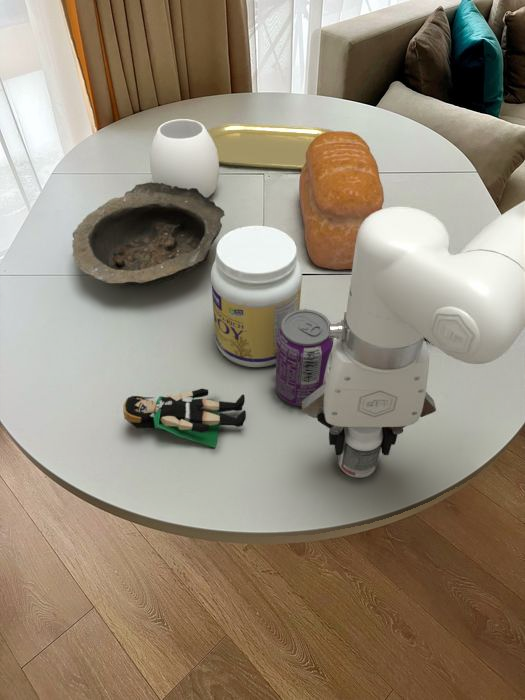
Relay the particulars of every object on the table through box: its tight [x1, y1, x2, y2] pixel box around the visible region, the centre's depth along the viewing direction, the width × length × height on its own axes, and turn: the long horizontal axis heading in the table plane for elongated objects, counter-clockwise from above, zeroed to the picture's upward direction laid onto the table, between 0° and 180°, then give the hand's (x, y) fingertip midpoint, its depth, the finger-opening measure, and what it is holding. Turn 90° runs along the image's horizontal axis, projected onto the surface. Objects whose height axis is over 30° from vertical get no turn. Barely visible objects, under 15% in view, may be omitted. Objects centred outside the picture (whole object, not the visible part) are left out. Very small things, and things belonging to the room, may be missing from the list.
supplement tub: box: [210, 225, 303, 368], centre depth 78 cm, size 12×12×17 cm
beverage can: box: [274, 308, 335, 407], centre depth 73 cm, size 7×7×12 cm
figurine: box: [122, 388, 247, 449], centre depth 72 cm, size 8×6×15 cm
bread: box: [298, 130, 385, 271], centre depth 99 cm, size 14×26×15 cm, turn 2°
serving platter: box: [206, 123, 335, 171], centre depth 125 cm, size 19×35×2 cm, turn 84°
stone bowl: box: [71, 181, 226, 287], centre depth 94 cm, size 25×25×9 cm
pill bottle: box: [337, 427, 383, 479], centre depth 66 cm, size 5×5×8 cm
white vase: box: [149, 118, 220, 198], centre depth 108 cm, size 13×13×14 cm
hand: (360, 444), depth 67 cm, fingers closed on pill bottle, 4 cm apart
